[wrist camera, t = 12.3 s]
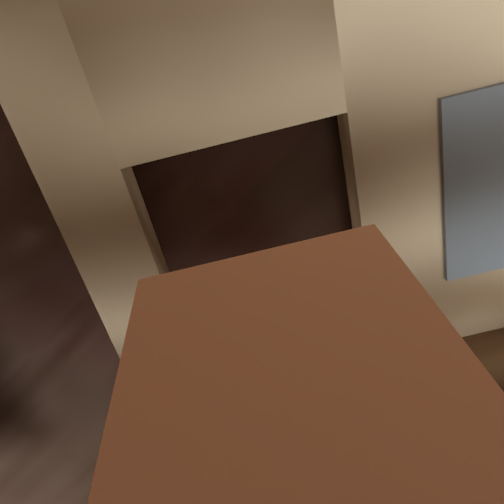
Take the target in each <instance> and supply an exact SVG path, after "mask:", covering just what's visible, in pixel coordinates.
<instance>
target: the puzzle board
mask: <svg viewBox="0 0 504 504" xmlns="http://www.w3.org/2000/svg"><path fill="white" fill-rule="evenodd" d="M0 104H1V106H2V108H3V111H4V113H5V115H6V117H7V119H8V121H9V123H10V126H11V128H12V130H13V132H14V134H15V136H16V138H17V140H18V143H19V145H20V147H21V149H22V151H23V153H24V155H25V157H26V160H27V162H28V164H29V166H30V168H31V170H32V172H33V175H34V177H35V179H36V181H37V183H38V185H39V187H40V189H41V192H42V194H43V196H44V198H45V200H46V202H47V204H48V207H49V209H50V211H51V213H52V215H53V217H54V219H55V221H56V224H57V226H58V228H59V230H60V232H61V234H62V236H63V239H64V241H65V243H66V245H67V247H68V249H69V251H70V253H71V256H72V258H73V260H74V262H75V264H76V266H77V268H78V271H79V273H80V275H81V277H82V279H83V281H84V283H85V285H86V288H87V290H88V292H89V294H90V296H91V298H92V300H93V303H94V305H95V307H96V309H97V311H98V313H99V315H100V317H101V320H102V322H103V324H104V326H105V328H106V330H107V332H108V334H109V337H110V339H111V341H112V343H113V345H114V347H115V349H116V352H117V354H118V356H119V358H120V357H121V353H122V349H123V344H124V340H125V335H126V331H127V327H128V322H129V318H130V314H131V309H132V305H133V300H134V296H135V292H136V287H137V283H138V280H139V279H143V278H147V277H152V276H156V275H160V274H164V273H168V272H169V269H168V267H167V264H166V261H165V258H164V256H163V253H162V250H161V247H160V244H159V242H158V239H157V236H156V233H155V231H154V228H153V225H152V222H151V220H150V217H149V214H148V211H147V209H146V206H145V203H144V200H143V197H142V195H141V192H140V189H139V186H138V184H137V181H136V178H135V175H134V173H133V170H132V167H131V166H135V165H139V164H143V163H147V162H151V161H155V160H159V159H163V158H167V157H171V156H175V155H179V154H183V153H187V152H191V151H195V150H199V149H203V148H207V147H211V146H215V145H219V144H223V143H227V142H231V141H235V140H239V139H243V138H247V137H251V136H255V135H259V134H263V133H267V132H271V131H275V130H279V129H283V128H287V127H291V126H295V125H299V124H303V123H307V122H311V121H315V120H319V119H323V118H327V117H331V116H335V115H337V121H338V128H339V135H340V142H341V150H342V157H343V164H344V171H345V179H346V186H347V193H348V201H349V208H350V215H351V222H352V229H354V228H358V227H363V226H367V225H371V224H375V225H376V226H377V228H378V229H379V230H380V232H381V233H382V234H383V236H384V237H385V238H386V239H387V241H388V242H389V243H390V245H391V246H392V247H393V249H394V250H395V251H396V252H397V254H398V255H399V256H400V258H401V259H402V260H403V262H404V263H405V264H406V265H407V267H408V268H409V269H410V271H411V272H412V273H413V275H414V276H415V277H416V278H417V280H418V281H419V282H420V284H421V285H422V286H423V288H424V289H425V290H426V291H427V293H428V294H429V295H430V297H431V298H432V299H433V301H434V302H435V303H436V305H437V306H438V307H439V308H440V310H441V311H442V312H443V314H444V315H445V316H446V318H447V319H448V320H449V321H450V323H451V324H452V325H453V327H454V328H455V329H456V331H457V332H458V333H459V334H460V336H461V337H462V338H463V340H464V341H465V342H466V344H467V345H468V346H469V347H470V349H471V350H472V351H473V353H474V354H475V355H476V357H477V358H478V359H479V360H480V362H481V363H482V364H483V366H484V367H485V368H486V370H487V371H488V372H489V374H490V375H491V376H492V377H493V379H494V380H495V381H496V383H497V384H498V385H499V387H500V388H501V389H502V390H503V392H504V0H0Z"/></svg>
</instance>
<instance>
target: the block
mask: <svg viewBox="0 0 504 504" xmlns="http://www.w3.org/2000/svg"><path fill="white" fill-rule="evenodd" d="M87 504H504V392H503V390H502V389H501V388H500V387H499V385H498V384H497V383H496V381H495V380H494V379H493V377H492V376H491V375H490V374H489V372H488V371H487V370H486V368H485V367H484V366H483V364H482V363H481V362H480V360H479V359H478V358H477V357H476V355H475V354H474V353H473V351H472V350H471V349H470V347H469V346H468V345H467V344H466V342H465V341H464V340H463V338H462V337H461V336H460V334H459V333H458V332H457V331H456V329H455V328H454V327H453V325H452V324H451V323H450V321H449V320H448V319H447V318H446V316H445V315H444V314H443V312H442V311H441V310H440V308H439V307H438V306H437V305H436V303H435V302H434V301H433V299H432V298H431V297H430V295H429V294H428V293H427V291H426V290H425V289H424V288H423V286H422V285H421V284H420V282H419V281H418V280H417V278H416V277H415V276H414V275H413V273H412V272H411V271H410V269H409V268H408V267H407V265H406V264H405V263H404V262H403V260H402V259H401V258H400V256H399V255H398V254H397V252H396V251H395V250H394V249H393V247H392V246H391V245H390V243H389V242H388V241H387V239H386V238H385V237H384V236H383V234H382V233H381V232H380V230H379V229H378V228H377V226H376V225H375V224H371V225H367V226H363V227H358V228H354V229H350V230H346V231H341V232H337V233H333V234H329V235H325V236H320V237H316V238H312V239H308V240H303V241H299V242H295V243H291V244H287V245H282V246H278V247H274V248H270V249H266V250H261V251H257V252H253V253H249V254H244V255H240V256H236V257H232V258H228V259H223V260H219V261H215V262H211V263H206V264H202V265H198V266H194V267H190V268H185V269H181V270H177V271H173V272H168V273H164V274H160V275H156V276H152V277H147V278H143V279H139V280H138V283H137V287H136V292H135V296H134V300H133V305H132V309H131V314H130V318H129V322H128V327H127V331H126V335H125V340H124V344H123V349H122V353H121V357H120V362H119V366H118V371H117V375H116V379H115V384H114V388H113V392H112V397H111V401H110V406H109V410H108V414H107V419H106V423H105V428H104V432H103V436H102V441H101V445H100V449H99V454H98V458H97V463H96V467H95V471H94V476H93V480H92V485H91V489H90V493H89V498H88V502H87Z"/></svg>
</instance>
